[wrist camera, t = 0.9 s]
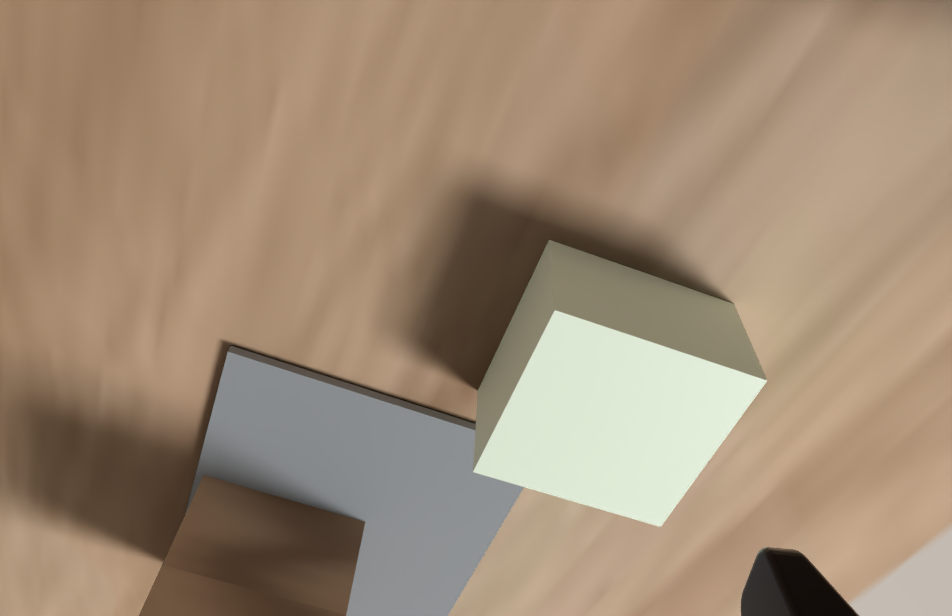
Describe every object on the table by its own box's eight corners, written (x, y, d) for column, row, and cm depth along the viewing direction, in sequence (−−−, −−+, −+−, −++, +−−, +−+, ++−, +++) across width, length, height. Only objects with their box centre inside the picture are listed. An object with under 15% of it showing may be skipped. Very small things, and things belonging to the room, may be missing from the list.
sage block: (732, 300, 22) (767, 380, 19) (642, 438, 25) (660, 526, 22) (548, 236, 21) (554, 309, 18) (477, 386, 24) (472, 471, 21)
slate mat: (544, 445, 25) (544, 452, 25) (420, 655, 31) (420, 662, 31) (230, 345, 23) (227, 351, 23) (167, 587, 29) (164, 594, 29)
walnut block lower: (365, 521, 27) (346, 614, 24) (323, 615, 29) (301, 709, 26) (203, 474, 26) (162, 564, 23) (176, 576, 29) (136, 668, 26)
